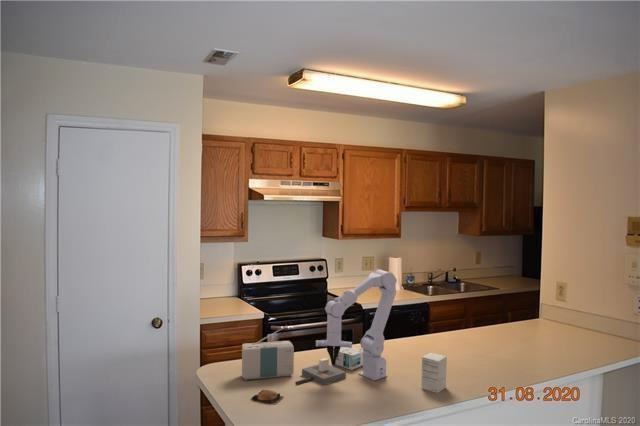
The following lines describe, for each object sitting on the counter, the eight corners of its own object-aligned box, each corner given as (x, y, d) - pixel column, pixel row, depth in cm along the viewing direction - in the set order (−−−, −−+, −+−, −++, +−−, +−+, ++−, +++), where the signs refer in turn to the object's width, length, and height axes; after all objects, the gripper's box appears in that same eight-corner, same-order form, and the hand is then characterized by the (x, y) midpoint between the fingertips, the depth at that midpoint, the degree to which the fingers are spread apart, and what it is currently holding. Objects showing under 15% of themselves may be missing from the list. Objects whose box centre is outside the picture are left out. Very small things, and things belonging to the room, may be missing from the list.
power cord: (312, 380, 197) (312, 377, 197) (297, 385, 192) (297, 382, 192) (311, 379, 198) (311, 376, 198) (295, 384, 193) (295, 381, 193)
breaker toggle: (328, 369, 202) (328, 359, 202) (322, 371, 200) (322, 360, 200) (325, 368, 204) (325, 357, 203) (319, 370, 201) (319, 359, 201)
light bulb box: (332, 364, 216) (351, 370, 209) (333, 349, 216) (352, 355, 209) (347, 358, 224) (366, 364, 217) (347, 344, 224) (367, 349, 217)
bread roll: (285, 398, 181) (285, 388, 181) (275, 407, 173) (275, 397, 173) (260, 393, 185) (260, 383, 185) (248, 401, 177) (249, 391, 177)
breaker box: (345, 378, 200) (345, 372, 200) (323, 385, 193) (323, 378, 193) (323, 368, 211) (323, 362, 211) (301, 374, 203) (301, 368, 203)
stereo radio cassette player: (242, 381, 195) (243, 332, 194) (240, 374, 203) (241, 327, 202) (293, 377, 200) (294, 329, 200) (289, 370, 208) (290, 324, 208)
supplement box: (429, 383, 196) (430, 352, 196) (446, 387, 192) (447, 356, 191) (420, 388, 191) (421, 356, 190) (438, 393, 186) (439, 360, 186)
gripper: (352, 329, 200) (351, 362, 200) (317, 327, 201) (316, 360, 202) (351, 334, 193) (351, 368, 193) (315, 332, 194) (314, 365, 195)
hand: (333, 364), depth 197 cm, fingers closed
